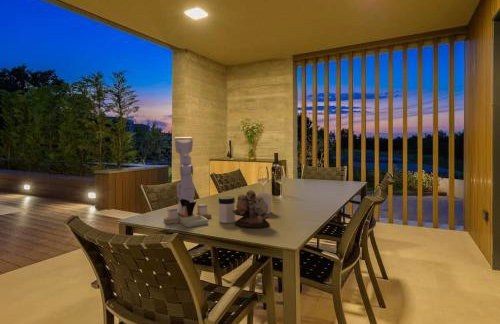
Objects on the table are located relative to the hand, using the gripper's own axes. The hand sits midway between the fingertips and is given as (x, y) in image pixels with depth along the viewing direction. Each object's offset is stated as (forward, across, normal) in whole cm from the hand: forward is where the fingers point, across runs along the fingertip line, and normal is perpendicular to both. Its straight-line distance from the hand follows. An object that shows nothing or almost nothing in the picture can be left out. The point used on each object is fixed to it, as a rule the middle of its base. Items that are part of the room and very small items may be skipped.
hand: (187, 214), depth 161 cm
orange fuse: (+3, 0, 0) cm, 3 cm away
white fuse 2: (+3, 0, +8) cm, 9 cm away
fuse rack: (+3, 0, 0) cm, 3 cm away
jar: (+3, +14, +16) cm, 21 cm away
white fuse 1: (+3, 0, -8) cm, 9 cm away
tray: (+3, +10, 0) cm, 10 cm away
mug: (+3, +7, +40) cm, 41 cm away
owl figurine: (+3, +28, +22) cm, 36 cm away
